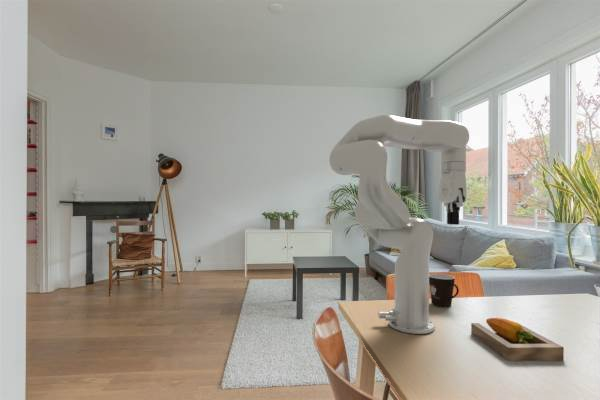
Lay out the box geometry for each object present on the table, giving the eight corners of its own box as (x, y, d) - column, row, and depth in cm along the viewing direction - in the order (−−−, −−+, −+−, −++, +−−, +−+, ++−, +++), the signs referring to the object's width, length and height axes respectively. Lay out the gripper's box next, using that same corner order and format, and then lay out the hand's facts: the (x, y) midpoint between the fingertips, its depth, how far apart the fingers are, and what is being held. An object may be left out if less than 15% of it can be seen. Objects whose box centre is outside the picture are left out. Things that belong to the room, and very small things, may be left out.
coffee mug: (425, 300, 127) (426, 273, 127) (450, 301, 126) (450, 274, 126) (433, 310, 116) (433, 280, 116) (460, 311, 114) (461, 281, 114)
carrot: (490, 331, 99) (536, 352, 85) (476, 325, 98) (520, 346, 84) (496, 315, 100) (542, 333, 85) (482, 309, 99) (526, 326, 84)
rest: (508, 360, 79) (508, 347, 79) (471, 334, 95) (471, 323, 95) (563, 360, 80) (563, 347, 80) (517, 333, 95) (517, 322, 96)
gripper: (432, 170, 121) (432, 222, 121) (452, 166, 106) (452, 225, 106) (453, 170, 121) (453, 223, 121) (476, 166, 106) (476, 226, 106)
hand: (452, 224), depth 113 cm, fingers closed
